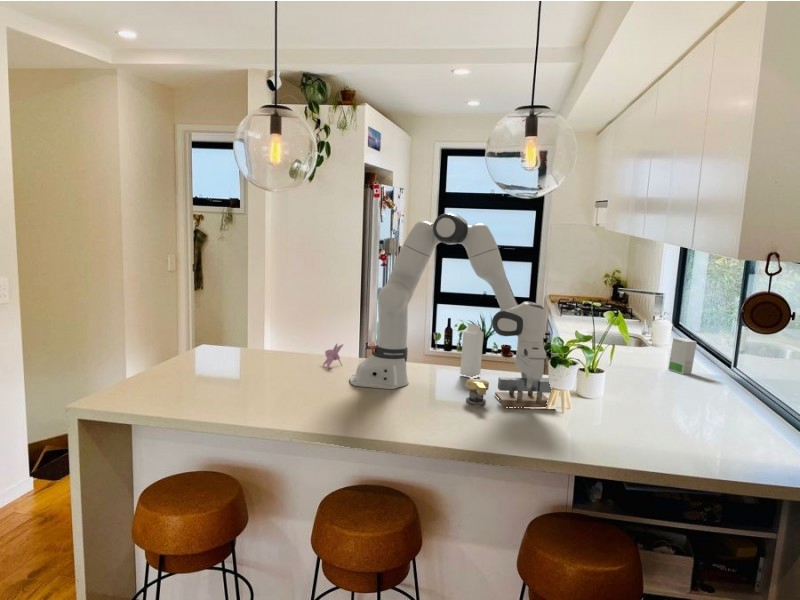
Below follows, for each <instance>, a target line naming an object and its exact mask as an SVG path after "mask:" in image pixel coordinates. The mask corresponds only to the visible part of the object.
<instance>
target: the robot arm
mask: <svg viewBox="0 0 800 600" xmlns="http://www.w3.org/2000/svg"><path fill="white" fill-rule="evenodd" d="M440 243H443V244H446V245H449V246H450V245H458V244H460V245H462V246H463V248H465V251H466V255H467V257H468V260H469V262H470V265H471V268H472V269H473V271H474V273H475V275H476V276H477V277H479V279H482V280H484V281H485V282H486V283H487V284H488V285H490V287H491V288H492V291H493V293H494V295H495V298H496V300H497V303H498V305H499V311H498V312H496V313H495V314H494V315H493V317H492V320H491V327H492V328H493V331H494V332H495V333H496V334H497V335H499V336H501V337H515V336H517V344H516V345H517V346H516V352H515V353H516V354H515V360H514V364H515V365H514V366H515V367H516V368H517V369H518V370H519V371H520V375H521V378H527V382H526V385H525V386H526V387H527V388H531V387H532V382H533V380H541V379H542V378H543V376H544V369H545V359H547V352H546V350H545V348H544V347H545V346H544V336H543V334H544V331H545V328H546V327H545V326H546V312H545V311H546V310H545V308H544V307H543V305H541V304H539V303H536V302H533V301H528V300H527V301H523V302H522V303H520V304H519V303H518V302H517V300H516V297H515V294H514V293H513V290H512V288H511V285H510V282H509V280H508V277H507V274H506V270H505V268H504V262H503V260H502V256H501V252H500V249H499V247H498V244H497V242H496V239H495V237H494V236H493V233H492V232H491V230H490V229H489V227H488V225H486V224H484V223H475V224H471V225H470V224H469V225H468V223H467V220H466V219H464V218H463V217H462V216H461V215H458V214H456V213H452V212H447V213H443V214H440V215H439V216H437V217H436V219H435V220H434V222H430V221H427V220H421V221H418V222H415V224H414V225H413V226H412V228H411V230H410V231H409V233H408V235H407V236H406V238H405V241H404V242H403V244H402V246H401V249H400V250H399V252H398V255H397V257H396V259H395V262H394V264H393V267H392V269H391V272H390V275H389V277H388V280H387V282H386V284H385V285H384V286H383V287H382V288H380V290H379V292H378V294H377V295H378V296H377V307H378V308H377V313H378V315H377V316H378V336H377V344H375V343H374V344H371V345H370V350H371V355H369V356H368V357H367V358H366V359H364V360H362V361H360V362H359V364H358V365H357V368H356V371H355V373H353V374H352V375H350V377H349V383H350V384H351V385H352V386H355V387H362V388H375V389H385V390H395V389H397V388H401V387H404V386H405V387H406V386H407V385H409V378H408V373H407V372H408V371H407V361H408V345H407V344H408V332H409V331H408V329H409V326H408V325H409V324H408V306H409V303H410V302H411V300H412V298H413V296H414V293H415V290H416V288H417V286H418V284H419V282H420V279H421V277H422V275H423V273H424V272H425V268H426V267H427V264H428V263H429V260H430V258H431V256H432V254H433V251H434V250H435V248H436V247H437V245H438V244H440Z"/></svg>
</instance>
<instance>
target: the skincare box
mask: <svg viewBox="0 0 800 600" xmlns="http://www.w3.org/2000/svg"><path fill="white" fill-rule="evenodd" d="M697 343H698V342H697V341H696V340H692V339H690V338H685V337H673V338H672V343H671V348H670V349H671V350H670V355H669V361H668V367H667V369H668V370H669V371H672V372H674V373H678V374H680V375H688V374H689V375H690V374H691V375H692V371H693V365H694V358H695V353H696V348H697Z"/></svg>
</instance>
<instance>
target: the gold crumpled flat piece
mask: <svg viewBox="0 0 800 600" xmlns="http://www.w3.org/2000/svg"><path fill="white" fill-rule="evenodd" d="M489 385H490V383H489V381H487V380H484V379H481V378H480V379H479V378H476V379H468V378H467V379H466V380H465V388H466V389H468V390H469V391H470V390H474V391H477V393H478V394H480V395H484V396H486V394H487V391H489V387H490V386H489Z"/></svg>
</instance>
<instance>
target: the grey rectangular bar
mask: <svg viewBox="0 0 800 600" xmlns="http://www.w3.org/2000/svg"><path fill="white" fill-rule="evenodd" d="M549 378H550V377H542V379H541V380H533V382H532V387H531V388H527V387H526V386H525V385H526V382H527V378H522V377H507V376H505V377H504V376H503V377H502V376H501V377H500V376H499V377H498V381H497V382H498V383H497V389H498V390H499V392H507V391H508V392H509V391H514V392H518V391H522V392H528V391H533V393H535V392H536V393H537V392H542V394H544V393H545V394H548V393H549V394H552V393H551V390H552V389H551V387H550V384H549Z"/></svg>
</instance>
